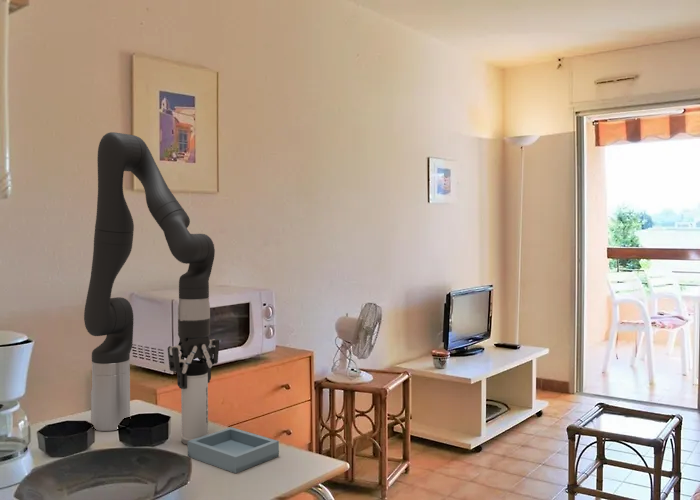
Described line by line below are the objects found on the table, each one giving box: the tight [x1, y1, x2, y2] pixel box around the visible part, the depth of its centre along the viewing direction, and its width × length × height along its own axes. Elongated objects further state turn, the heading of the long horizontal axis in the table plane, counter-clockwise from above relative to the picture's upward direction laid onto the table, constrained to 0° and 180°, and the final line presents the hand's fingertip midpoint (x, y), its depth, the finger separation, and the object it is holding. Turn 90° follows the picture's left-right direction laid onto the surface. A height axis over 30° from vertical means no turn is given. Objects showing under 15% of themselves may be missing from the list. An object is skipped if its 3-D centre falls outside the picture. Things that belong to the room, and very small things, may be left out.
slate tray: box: [187, 426, 280, 474], centre depth 148 cm, size 16×13×4 cm
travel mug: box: [180, 359, 209, 446], centre depth 158 cm, size 6×7×20 cm
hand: (194, 385), depth 158 cm, fingers closed on travel mug, 6 cm apart
